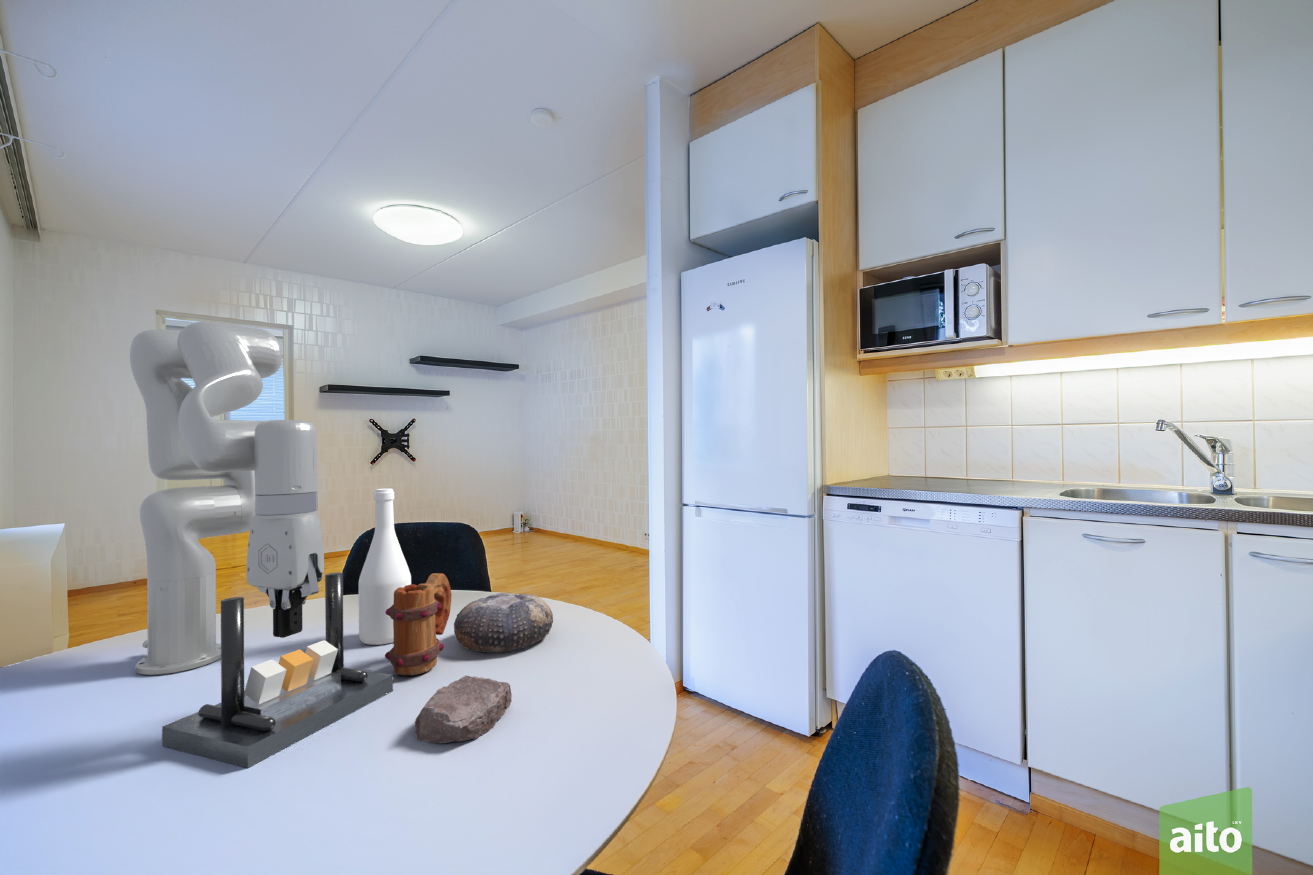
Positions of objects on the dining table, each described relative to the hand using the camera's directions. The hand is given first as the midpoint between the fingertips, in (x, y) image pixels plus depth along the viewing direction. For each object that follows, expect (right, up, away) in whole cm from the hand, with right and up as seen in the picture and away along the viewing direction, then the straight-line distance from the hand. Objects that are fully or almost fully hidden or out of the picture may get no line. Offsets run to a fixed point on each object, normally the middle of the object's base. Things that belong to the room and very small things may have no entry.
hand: (288, 633), depth 79 cm
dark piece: (0, -12, 0) cm, 12 cm away
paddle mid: (0, -8, 0) cm, 8 cm away
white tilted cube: (-1, -8, -4) cm, 9 cm away
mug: (+12, -12, +18) cm, 25 cm away
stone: (+27, -12, -3) cm, 29 cm away
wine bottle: (-2, -13, +32) cm, 35 cm away
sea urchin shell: (+23, -12, +30) cm, 40 cm away
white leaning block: (+2, -8, +4) cm, 9 cm away
